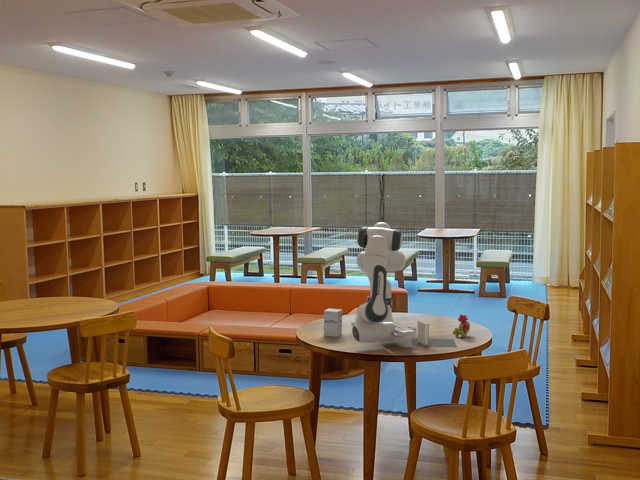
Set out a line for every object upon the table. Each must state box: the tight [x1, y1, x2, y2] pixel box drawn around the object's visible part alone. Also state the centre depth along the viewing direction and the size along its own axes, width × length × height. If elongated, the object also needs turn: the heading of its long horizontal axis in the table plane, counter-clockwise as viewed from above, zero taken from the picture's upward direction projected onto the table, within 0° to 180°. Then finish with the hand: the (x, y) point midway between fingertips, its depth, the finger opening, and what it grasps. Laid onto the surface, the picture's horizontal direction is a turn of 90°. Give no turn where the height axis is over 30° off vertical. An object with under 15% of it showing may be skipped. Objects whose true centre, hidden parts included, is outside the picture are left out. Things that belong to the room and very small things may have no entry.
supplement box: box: [323, 308, 343, 338], centre depth 323 cm, size 7×7×13 cm
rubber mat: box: [411, 337, 458, 348], centre depth 307 cm, size 20×16×1 cm
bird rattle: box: [452, 314, 471, 338], centre depth 322 cm, size 6×11×9 cm
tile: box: [417, 319, 430, 345], centre depth 305 cm, size 2×7×10 cm, turn 19°
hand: (415, 329), depth 304 cm, fingers closed
